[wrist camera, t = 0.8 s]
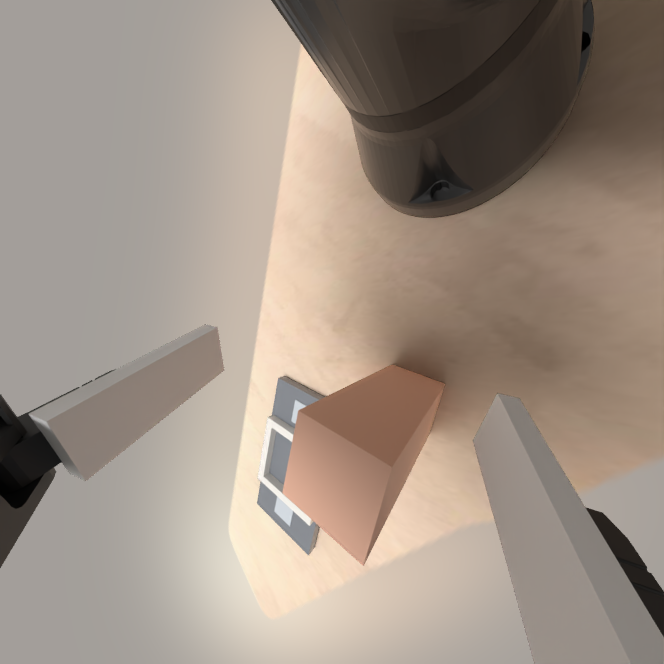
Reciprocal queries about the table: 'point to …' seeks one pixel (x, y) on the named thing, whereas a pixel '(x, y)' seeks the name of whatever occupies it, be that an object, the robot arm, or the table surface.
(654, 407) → the table surface
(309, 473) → the terracotta pillar
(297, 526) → the base board
